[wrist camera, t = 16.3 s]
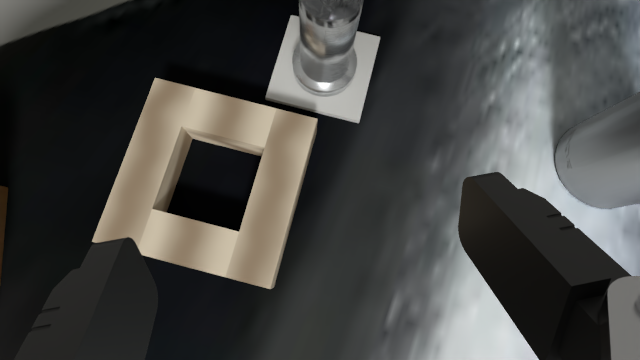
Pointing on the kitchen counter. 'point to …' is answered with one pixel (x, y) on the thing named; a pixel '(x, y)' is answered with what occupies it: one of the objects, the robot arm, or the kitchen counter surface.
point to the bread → (2, 220)
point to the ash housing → (165, 167)
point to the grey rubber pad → (337, 106)
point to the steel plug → (326, 45)
